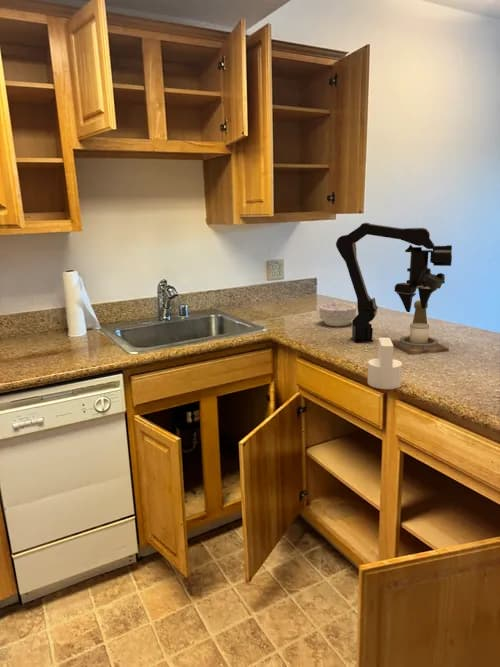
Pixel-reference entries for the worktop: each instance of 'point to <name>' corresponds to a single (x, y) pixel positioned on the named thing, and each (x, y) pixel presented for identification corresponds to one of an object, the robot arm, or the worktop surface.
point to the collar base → (415, 351)
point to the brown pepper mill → (420, 313)
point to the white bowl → (337, 313)
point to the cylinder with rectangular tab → (384, 367)
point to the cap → (419, 333)
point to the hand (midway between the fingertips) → (415, 310)
